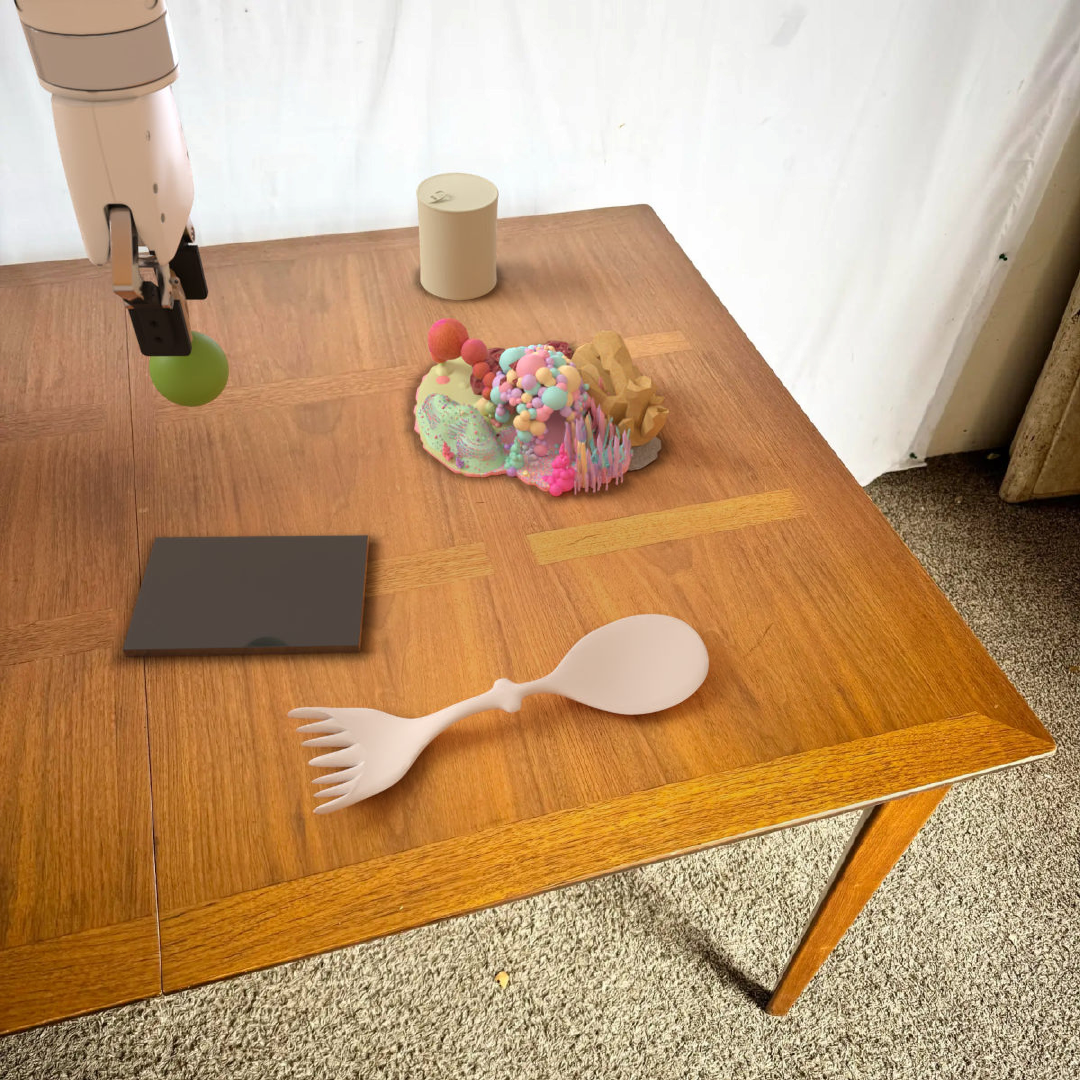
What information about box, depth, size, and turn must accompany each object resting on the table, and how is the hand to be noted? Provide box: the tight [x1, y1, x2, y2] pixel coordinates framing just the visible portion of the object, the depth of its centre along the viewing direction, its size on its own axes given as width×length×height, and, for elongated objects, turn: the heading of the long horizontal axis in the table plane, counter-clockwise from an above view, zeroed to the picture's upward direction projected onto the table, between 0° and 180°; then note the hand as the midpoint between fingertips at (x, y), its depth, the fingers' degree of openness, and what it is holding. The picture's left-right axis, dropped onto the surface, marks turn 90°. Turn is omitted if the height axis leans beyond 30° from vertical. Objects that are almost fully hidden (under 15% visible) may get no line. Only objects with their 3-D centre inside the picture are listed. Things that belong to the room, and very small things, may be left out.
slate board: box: [122, 534, 370, 658], centre depth 79 cm, size 18×12×2 cm, turn 94°
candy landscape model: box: [413, 317, 670, 497], centre depth 94 cm, size 25×24×9 cm
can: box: [415, 172, 499, 301], centre depth 110 cm, size 9×9×12 cm
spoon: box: [286, 613, 710, 815], centre depth 72 cm, size 9×32×4 cm, turn 112°
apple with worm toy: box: [148, 269, 230, 408], centre depth 67 cm, size 5×6×12 cm
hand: (176, 322), depth 66 cm, fingers closed on apple with worm toy, 6 cm apart
